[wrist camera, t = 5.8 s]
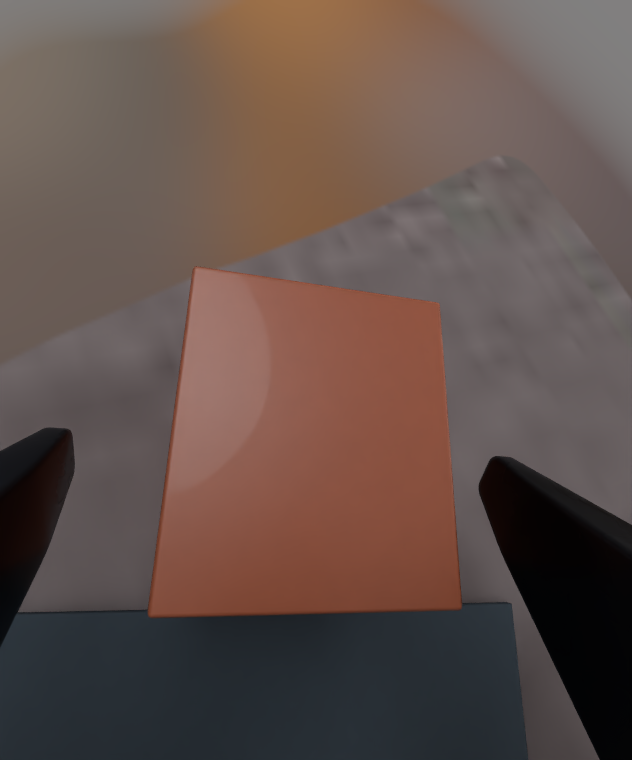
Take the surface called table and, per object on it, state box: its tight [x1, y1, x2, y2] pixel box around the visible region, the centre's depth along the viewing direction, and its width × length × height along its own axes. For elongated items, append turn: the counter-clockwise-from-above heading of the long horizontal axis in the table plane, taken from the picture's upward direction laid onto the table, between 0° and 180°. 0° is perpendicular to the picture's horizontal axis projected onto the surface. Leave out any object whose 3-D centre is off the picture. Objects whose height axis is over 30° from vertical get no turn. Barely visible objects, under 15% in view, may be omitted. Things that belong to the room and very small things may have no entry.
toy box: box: [147, 266, 462, 618], centre depth 12 cm, size 6×5×9 cm
